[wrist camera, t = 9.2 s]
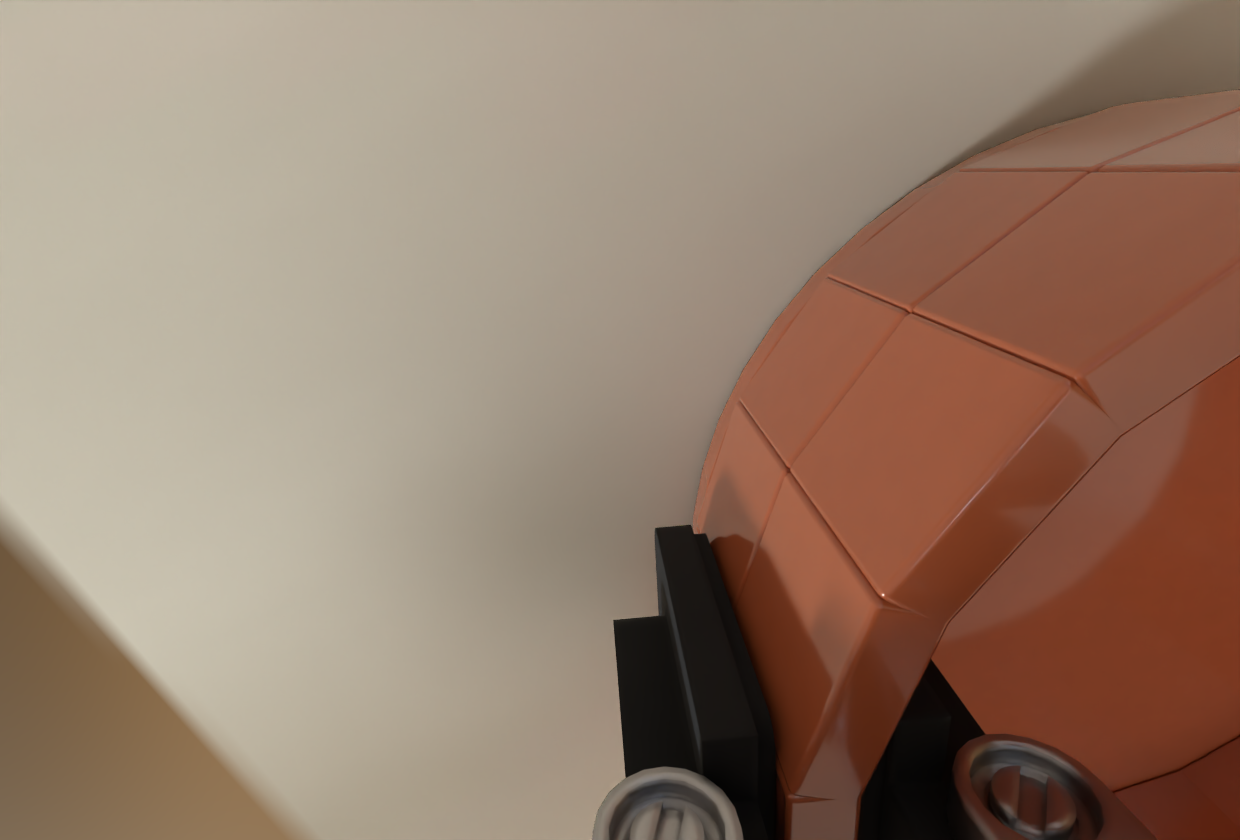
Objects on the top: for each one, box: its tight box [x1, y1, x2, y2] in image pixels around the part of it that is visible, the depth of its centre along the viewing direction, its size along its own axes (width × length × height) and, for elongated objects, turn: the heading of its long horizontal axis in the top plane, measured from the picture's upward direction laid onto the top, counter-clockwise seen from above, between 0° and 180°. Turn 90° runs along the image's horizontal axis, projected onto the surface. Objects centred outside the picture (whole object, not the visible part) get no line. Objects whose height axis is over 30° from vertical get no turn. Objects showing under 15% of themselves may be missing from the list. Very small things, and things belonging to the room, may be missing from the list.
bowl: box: [693, 89, 1240, 840], centre depth 9 cm, size 13×13×6 cm
